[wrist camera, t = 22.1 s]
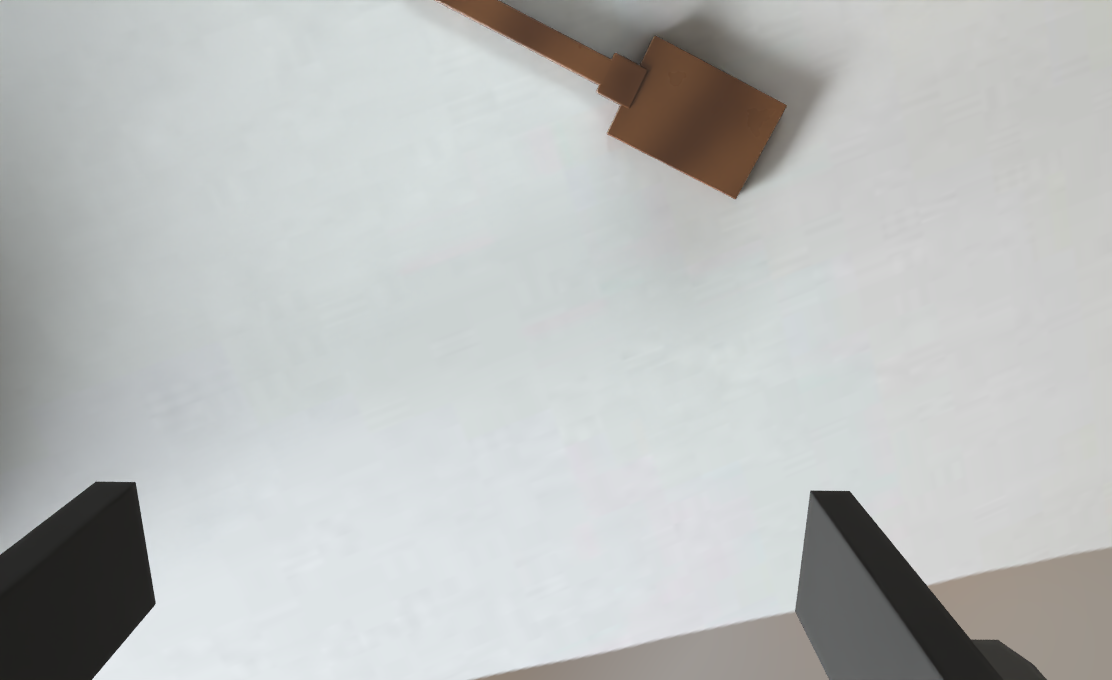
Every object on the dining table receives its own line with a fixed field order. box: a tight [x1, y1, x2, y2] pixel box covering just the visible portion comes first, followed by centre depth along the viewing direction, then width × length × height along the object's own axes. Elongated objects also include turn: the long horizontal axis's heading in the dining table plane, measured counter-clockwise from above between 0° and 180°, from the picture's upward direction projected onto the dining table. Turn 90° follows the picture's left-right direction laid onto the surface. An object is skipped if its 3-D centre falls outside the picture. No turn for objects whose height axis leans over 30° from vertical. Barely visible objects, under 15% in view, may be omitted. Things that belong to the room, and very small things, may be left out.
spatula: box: [434, 0, 787, 199], centre depth 38 cm, size 21×6×1 cm, turn 64°
